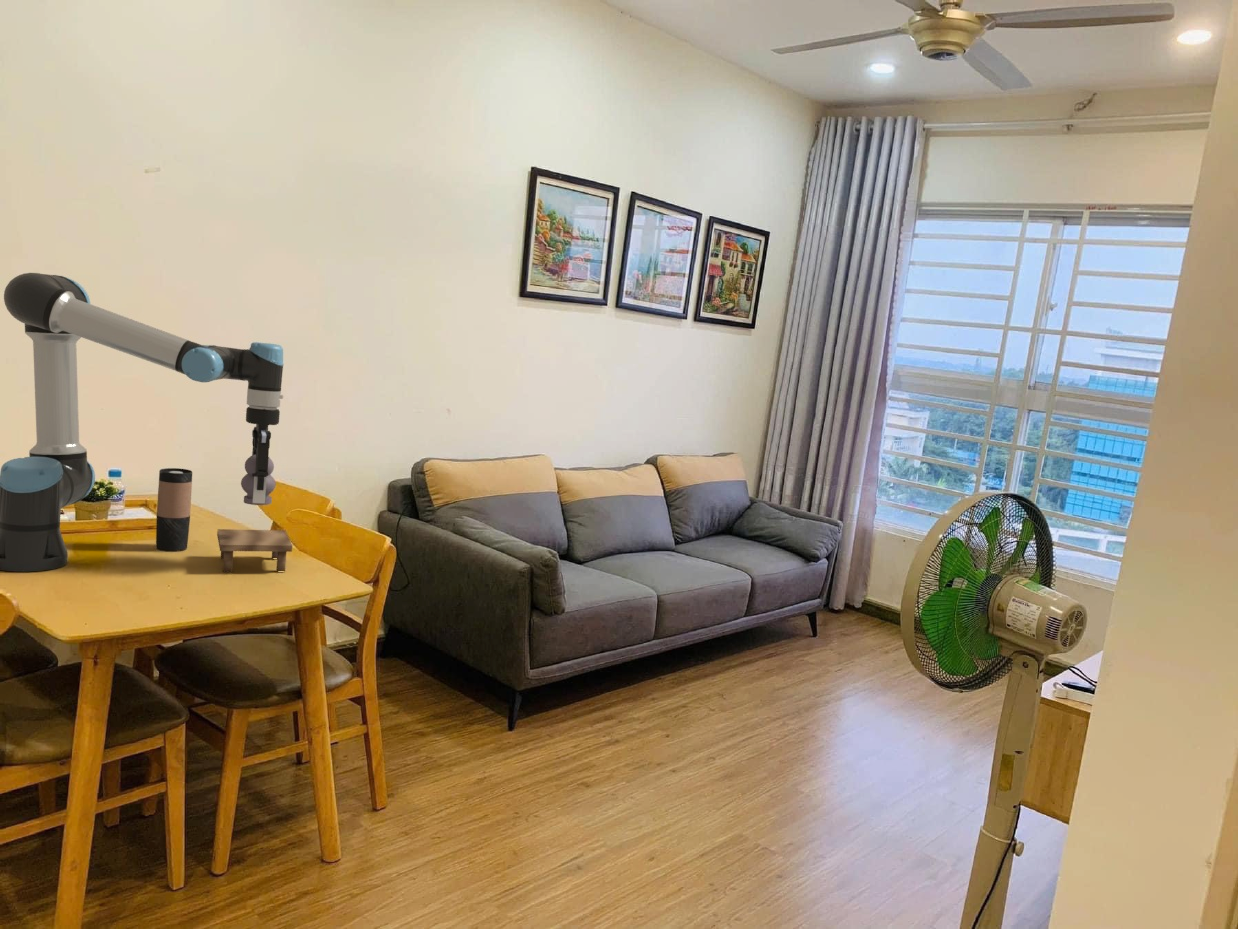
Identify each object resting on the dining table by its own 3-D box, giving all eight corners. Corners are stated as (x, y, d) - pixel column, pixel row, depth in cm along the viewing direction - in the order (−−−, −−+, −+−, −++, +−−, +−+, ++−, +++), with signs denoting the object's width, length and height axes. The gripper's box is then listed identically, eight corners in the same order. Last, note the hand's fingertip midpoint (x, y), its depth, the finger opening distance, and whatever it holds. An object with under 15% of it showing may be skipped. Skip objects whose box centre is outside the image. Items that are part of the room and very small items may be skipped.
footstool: (218, 573, 214) (220, 544, 213) (215, 556, 228) (217, 529, 228) (290, 573, 221) (292, 545, 221) (283, 556, 236) (285, 530, 235)
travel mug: (194, 547, 235) (199, 470, 232) (177, 553, 227) (181, 474, 224) (166, 543, 235) (170, 467, 233) (148, 549, 228) (152, 470, 225)
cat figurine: (235, 499, 224) (238, 450, 222) (268, 498, 229) (271, 451, 227) (245, 506, 217) (248, 456, 216) (278, 505, 222) (282, 457, 221)
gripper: (284, 413, 212) (277, 508, 215) (275, 403, 231) (269, 491, 234) (249, 411, 209) (243, 507, 212) (243, 401, 228) (237, 490, 231)
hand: (257, 499), depth 223 cm, fingers closed on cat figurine, 8 cm apart
